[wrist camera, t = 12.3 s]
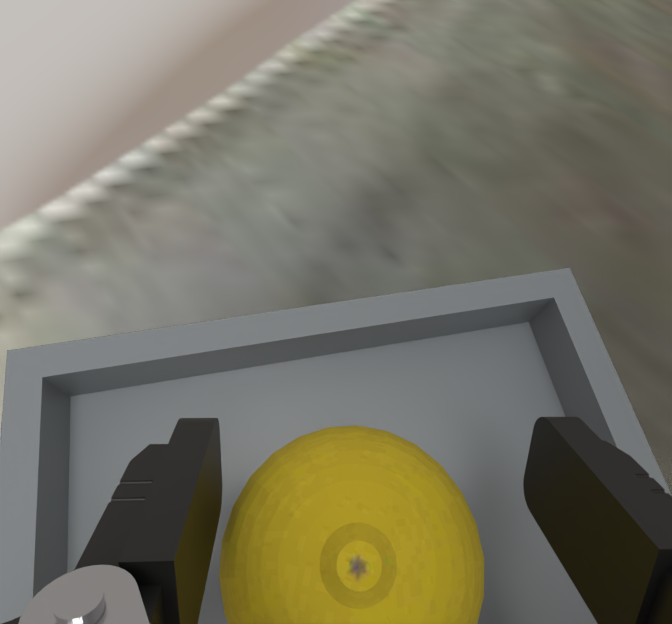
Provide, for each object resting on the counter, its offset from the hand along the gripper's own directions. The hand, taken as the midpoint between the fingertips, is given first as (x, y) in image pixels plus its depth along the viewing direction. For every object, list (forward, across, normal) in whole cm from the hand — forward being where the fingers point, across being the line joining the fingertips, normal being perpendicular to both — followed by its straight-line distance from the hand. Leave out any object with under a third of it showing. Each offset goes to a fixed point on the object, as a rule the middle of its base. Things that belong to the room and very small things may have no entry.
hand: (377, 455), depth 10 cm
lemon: (+3, 0, +6) cm, 6 cm away
